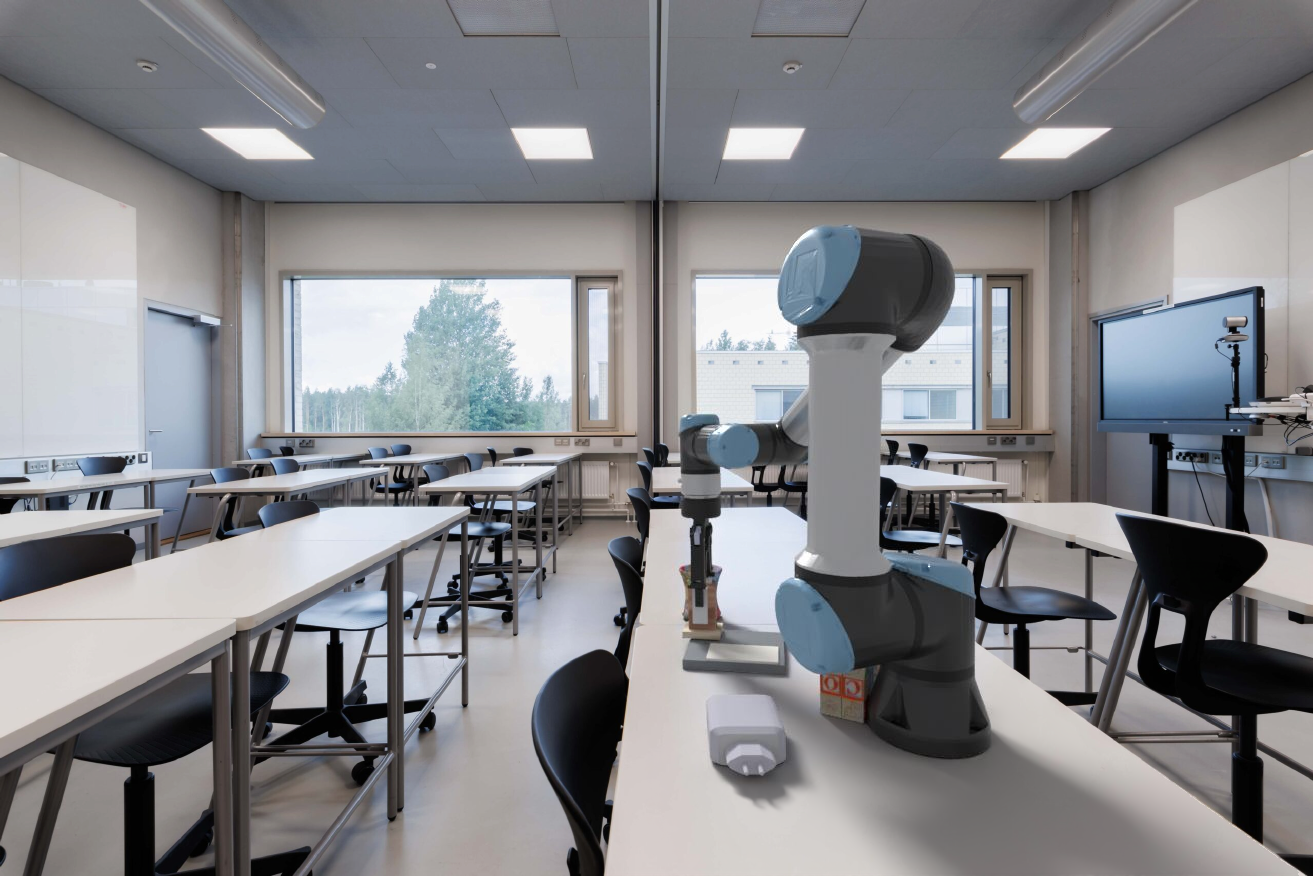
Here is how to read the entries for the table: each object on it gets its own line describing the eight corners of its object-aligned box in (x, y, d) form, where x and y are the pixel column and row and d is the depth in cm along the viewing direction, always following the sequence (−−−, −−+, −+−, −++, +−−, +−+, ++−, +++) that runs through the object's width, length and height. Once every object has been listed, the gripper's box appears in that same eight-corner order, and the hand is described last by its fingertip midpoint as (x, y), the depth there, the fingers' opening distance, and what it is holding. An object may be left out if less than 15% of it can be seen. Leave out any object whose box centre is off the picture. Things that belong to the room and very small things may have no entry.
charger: (713, 796, 68) (706, 729, 83) (796, 796, 68) (774, 728, 83) (712, 754, 68) (706, 694, 83) (795, 754, 68) (773, 694, 82)
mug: (726, 624, 126) (725, 573, 126) (681, 625, 125) (680, 574, 125) (718, 606, 138) (717, 560, 138) (677, 608, 137) (676, 561, 137)
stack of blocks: (865, 725, 83) (864, 636, 83) (819, 715, 86) (818, 629, 86) (892, 670, 101) (891, 596, 101) (854, 663, 104) (853, 592, 104)
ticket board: (784, 674, 100) (784, 663, 100) (682, 668, 103) (682, 657, 103) (783, 640, 115) (783, 630, 115) (695, 636, 119) (694, 626, 119)
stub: (720, 640, 111) (719, 590, 111) (682, 638, 113) (681, 588, 112) (723, 629, 117) (722, 581, 117) (687, 627, 119) (686, 580, 118)
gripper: (688, 490, 125) (690, 601, 125) (672, 502, 106) (674, 633, 106) (725, 490, 123) (726, 602, 124) (715, 502, 104) (717, 635, 105)
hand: (702, 616), depth 115 cm, fingers open, 7 cm apart
